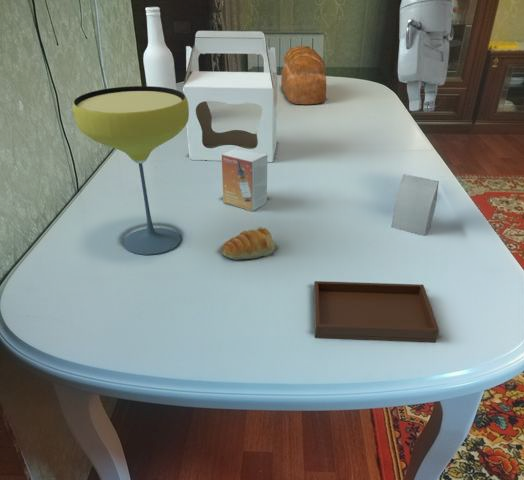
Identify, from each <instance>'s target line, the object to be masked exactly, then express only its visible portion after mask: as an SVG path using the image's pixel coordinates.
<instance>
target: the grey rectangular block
mask: <svg viewBox="0 0 524 480" xmlns="http://www.w3.org/2000/svg"><path fill="white" fill-rule="evenodd" d="M439 184H440V181H439V180H436V179H429V178H425V177H422V176H421V177H420V176H415V175H410V174H406V173H403V174H402V177H401V182H400V185H399V188H398V192H397V194H396V198H395V203H394V209H393V215H392V219H391V220H392V221H391V225H390V227H391V228H394V229H396V230H400V231H406V232H409V233H413V234H417V235H420V236H426V234H427V233H428V232H429V231H430V230H431V229H432V224H433V220H434V215H435V210H436V206H437V201H438V193H439Z"/></svg>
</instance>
